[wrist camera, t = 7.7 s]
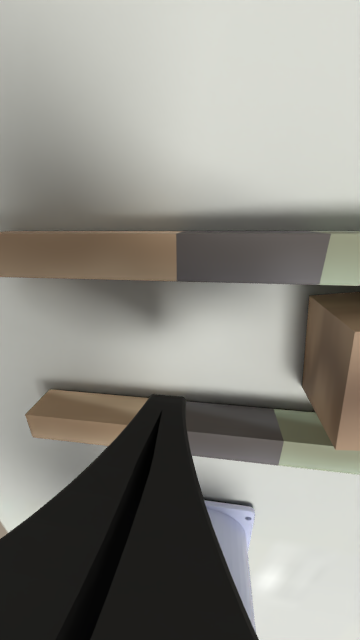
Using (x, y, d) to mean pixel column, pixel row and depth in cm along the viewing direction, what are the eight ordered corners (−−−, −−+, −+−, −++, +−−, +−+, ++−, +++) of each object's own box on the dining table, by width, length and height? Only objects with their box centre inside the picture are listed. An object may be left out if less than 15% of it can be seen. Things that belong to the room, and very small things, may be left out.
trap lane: (525, 456, 15) (598, 511, 12) (55, 410, 18) (27, 443, 16) (707, 230, 10) (908, 234, 7) (6, 231, 13) (-48, 234, 11)
